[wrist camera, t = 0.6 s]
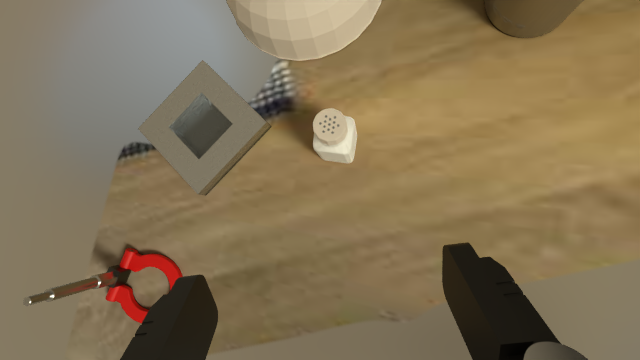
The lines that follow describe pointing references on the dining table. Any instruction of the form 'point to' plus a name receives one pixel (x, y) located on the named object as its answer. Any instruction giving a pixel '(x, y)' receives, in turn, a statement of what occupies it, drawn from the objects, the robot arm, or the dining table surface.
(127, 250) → the tow hook
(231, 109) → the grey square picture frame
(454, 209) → the dining table surface
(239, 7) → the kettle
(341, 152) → the salt shaker
